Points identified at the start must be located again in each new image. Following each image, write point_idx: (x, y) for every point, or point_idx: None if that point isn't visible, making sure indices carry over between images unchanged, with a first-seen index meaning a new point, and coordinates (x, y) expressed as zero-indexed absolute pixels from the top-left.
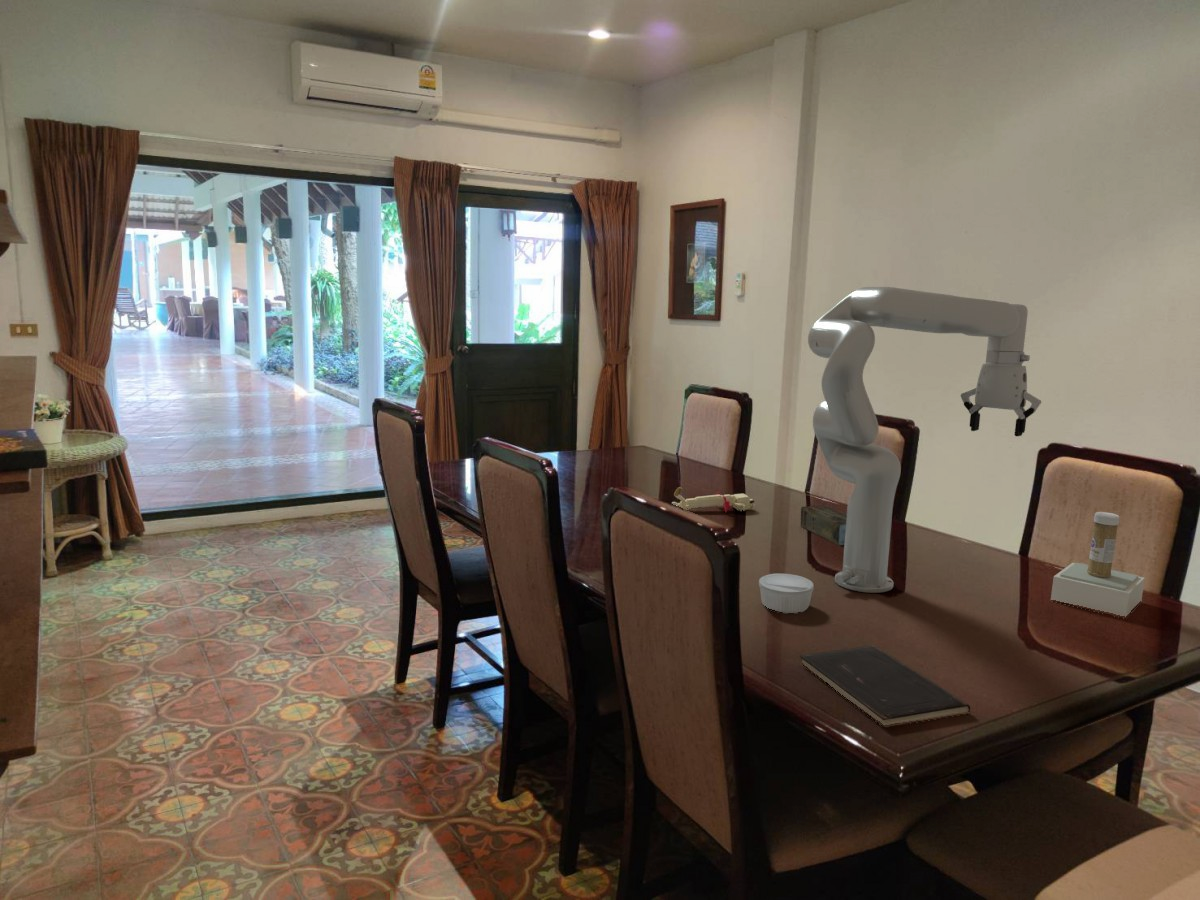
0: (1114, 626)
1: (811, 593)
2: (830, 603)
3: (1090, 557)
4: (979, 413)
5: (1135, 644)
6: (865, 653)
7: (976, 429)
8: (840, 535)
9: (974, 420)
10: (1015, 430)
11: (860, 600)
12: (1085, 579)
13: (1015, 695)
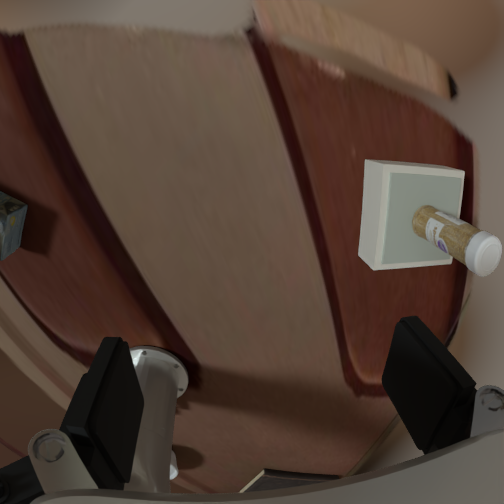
0: (423, 285)
1: (173, 460)
2: (173, 431)
3: (428, 239)
4: (87, 432)
5: (436, 317)
6: (265, 483)
7: (135, 376)
8: (11, 252)
9: (130, 452)
10: (394, 401)
11: (185, 412)
12: (411, 260)
13: (357, 450)
